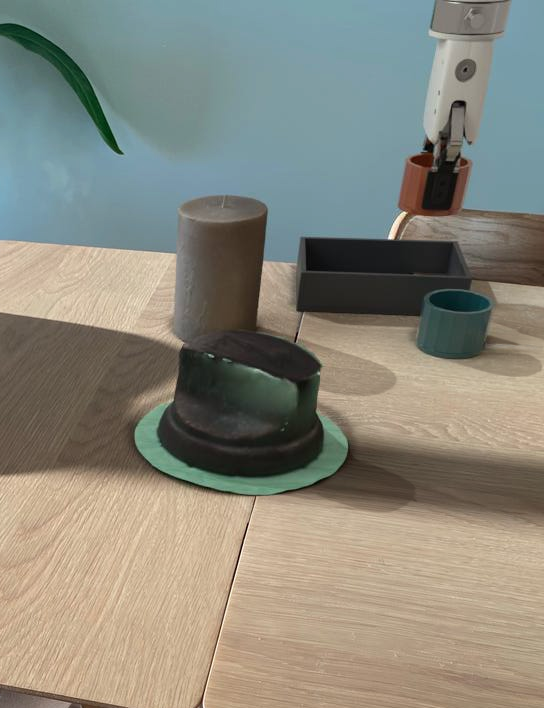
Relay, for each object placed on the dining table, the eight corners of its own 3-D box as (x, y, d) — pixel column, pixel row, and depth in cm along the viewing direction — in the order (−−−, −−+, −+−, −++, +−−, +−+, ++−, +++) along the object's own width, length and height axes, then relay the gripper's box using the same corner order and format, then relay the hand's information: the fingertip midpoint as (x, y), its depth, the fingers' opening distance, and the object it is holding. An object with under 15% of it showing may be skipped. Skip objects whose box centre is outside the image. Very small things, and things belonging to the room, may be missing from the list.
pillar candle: (273, 329, 113) (288, 192, 103) (222, 355, 108) (234, 213, 98) (205, 309, 118) (214, 176, 109) (154, 333, 113) (159, 196, 103)
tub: (449, 278, 124) (457, 241, 121) (463, 317, 114) (472, 278, 111) (295, 272, 127) (300, 236, 124) (296, 311, 117) (301, 272, 114)
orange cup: (457, 199, 115) (467, 153, 112) (465, 217, 110) (476, 170, 107) (394, 197, 117) (403, 152, 113) (399, 215, 111) (408, 168, 108)
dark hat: (382, 408, 95) (327, 514, 82) (217, 455, 107) (146, 555, 93) (327, 263, 89) (258, 352, 76) (159, 330, 101) (74, 417, 87)
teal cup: (477, 334, 110) (489, 290, 107) (487, 360, 105) (499, 315, 102) (412, 331, 111) (421, 287, 108) (418, 357, 106) (427, 312, 103)
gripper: (521, 32, 94) (476, 223, 106) (493, 7, 107) (455, 179, 119) (441, 32, 95) (404, 221, 107) (422, 7, 108) (392, 177, 120)
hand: (431, 197), depth 113 cm, fingers closed on orange cup, 7 cm apart
